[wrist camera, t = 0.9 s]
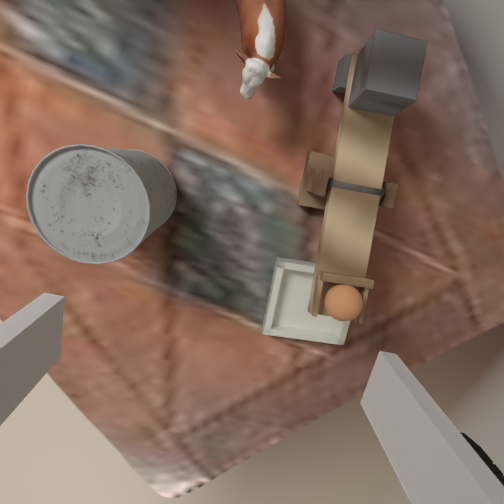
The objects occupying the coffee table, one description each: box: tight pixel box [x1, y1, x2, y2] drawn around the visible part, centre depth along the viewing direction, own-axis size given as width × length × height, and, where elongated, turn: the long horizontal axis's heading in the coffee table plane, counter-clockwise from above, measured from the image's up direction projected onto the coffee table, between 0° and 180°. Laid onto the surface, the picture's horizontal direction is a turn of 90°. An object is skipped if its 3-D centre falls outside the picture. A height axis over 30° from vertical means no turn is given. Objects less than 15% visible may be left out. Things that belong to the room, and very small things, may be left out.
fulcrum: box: [297, 151, 400, 210], centre depth 35 cm, size 6×8×7 cm
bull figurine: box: [236, 0, 286, 99], centre depth 30 cm, size 4×13×8 cm, turn 178°
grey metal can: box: [26, 144, 177, 265], centre depth 32 cm, size 10×10×12 cm
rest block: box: [333, 54, 352, 94], centre depth 34 cm, size 3×6×2 cm, turn 80°
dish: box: [262, 256, 351, 345], centre depth 41 cm, size 10×11×2 cm
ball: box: [325, 284, 363, 321], centre depth 31 cm, size 4×4×4 cm
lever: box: [307, 29, 427, 324], centre depth 31 cm, size 26×6×5 cm, turn 170°
